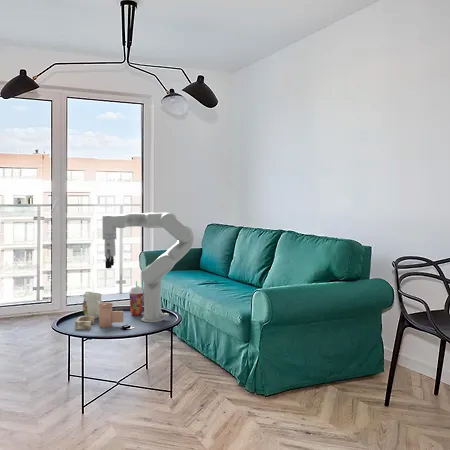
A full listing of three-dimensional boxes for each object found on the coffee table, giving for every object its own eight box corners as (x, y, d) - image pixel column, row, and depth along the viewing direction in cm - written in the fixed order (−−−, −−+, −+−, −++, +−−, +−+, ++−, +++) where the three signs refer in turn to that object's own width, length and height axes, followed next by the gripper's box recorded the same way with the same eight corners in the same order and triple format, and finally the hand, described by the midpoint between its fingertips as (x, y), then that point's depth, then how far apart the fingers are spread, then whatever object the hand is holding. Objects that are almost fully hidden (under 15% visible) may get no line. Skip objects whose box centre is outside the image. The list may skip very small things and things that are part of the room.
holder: (94, 323, 280) (94, 316, 280) (90, 329, 269) (90, 321, 269) (79, 323, 280) (79, 316, 279) (75, 329, 268) (75, 321, 268)
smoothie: (144, 312, 304) (144, 279, 302) (142, 316, 296) (142, 282, 294) (130, 312, 304) (130, 279, 302) (128, 316, 295) (128, 282, 294)
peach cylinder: (124, 323, 280) (124, 302, 279) (122, 327, 272) (122, 305, 271) (99, 324, 279) (99, 302, 278) (97, 328, 271) (97, 305, 270)
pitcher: (91, 322, 281) (90, 298, 280) (78, 316, 295) (77, 292, 294) (109, 319, 288) (109, 295, 287) (95, 313, 302) (95, 290, 301)
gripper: (114, 238, 276) (114, 269, 278) (118, 235, 294) (118, 264, 295) (100, 238, 276) (100, 269, 277) (104, 235, 293) (105, 264, 294)
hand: (109, 266), depth 286 cm, fingers open, 9 cm apart
